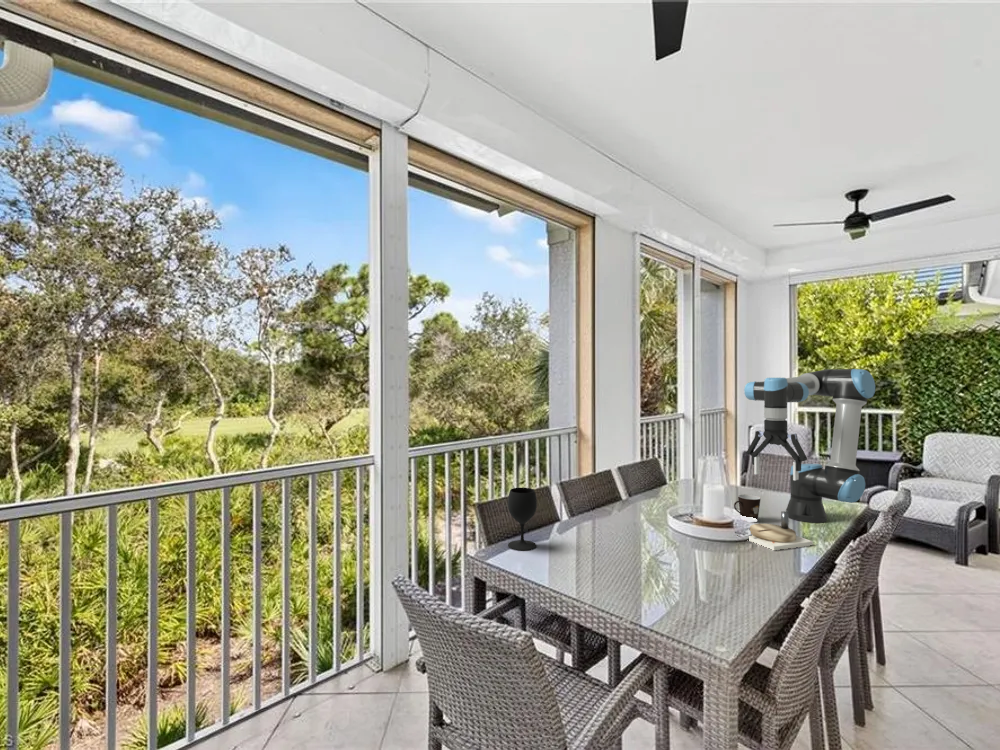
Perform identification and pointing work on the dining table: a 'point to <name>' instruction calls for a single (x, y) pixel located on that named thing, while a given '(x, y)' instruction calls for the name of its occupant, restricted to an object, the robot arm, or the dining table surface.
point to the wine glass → (522, 514)
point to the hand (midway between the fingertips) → (775, 476)
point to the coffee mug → (748, 505)
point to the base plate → (781, 543)
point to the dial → (775, 530)
